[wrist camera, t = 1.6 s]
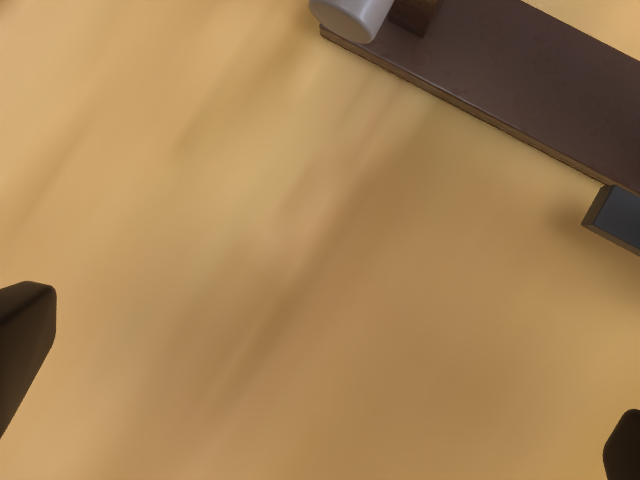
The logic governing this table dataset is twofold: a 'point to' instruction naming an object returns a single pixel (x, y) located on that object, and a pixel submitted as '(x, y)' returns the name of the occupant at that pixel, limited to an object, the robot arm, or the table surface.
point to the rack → (507, 73)
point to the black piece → (616, 217)
